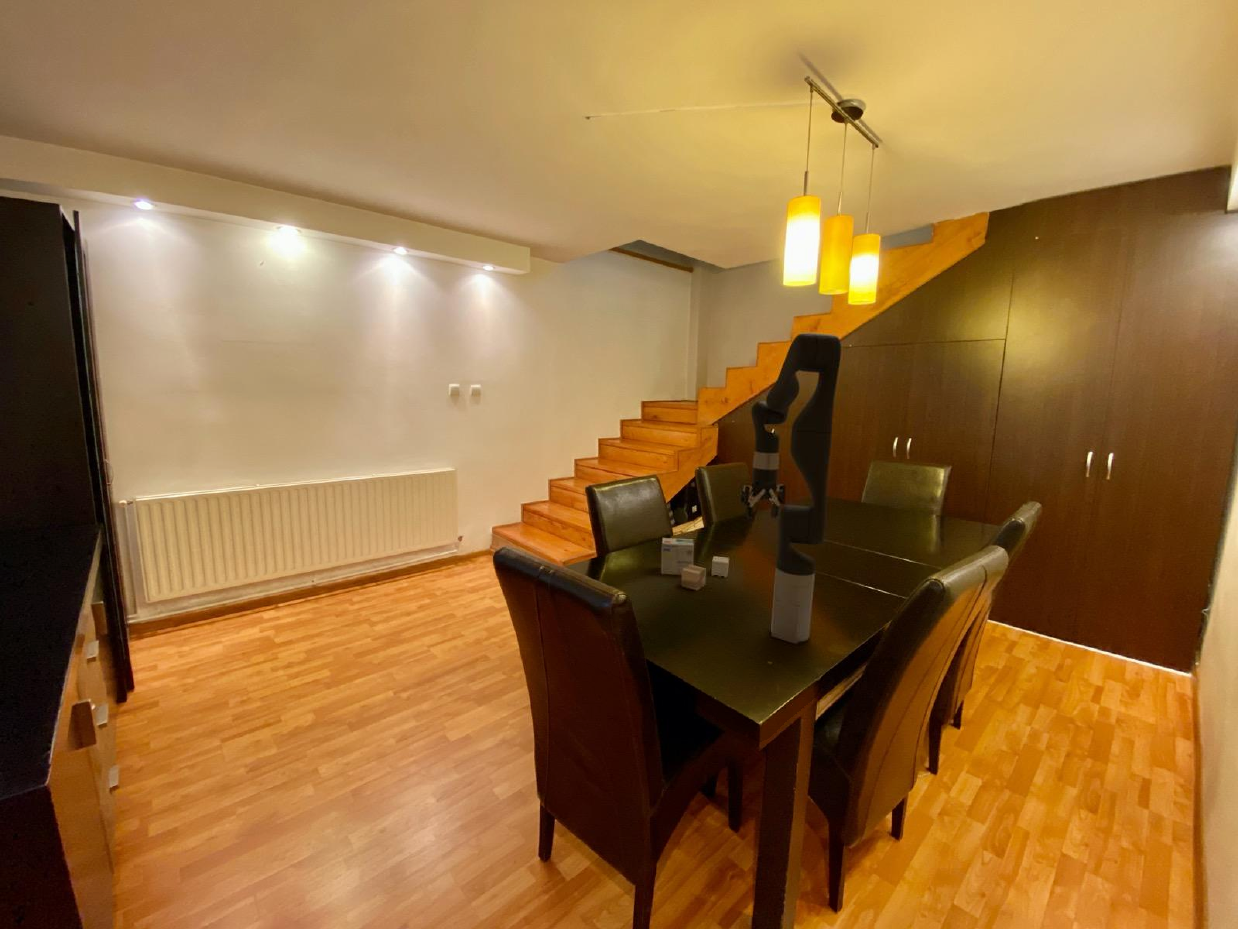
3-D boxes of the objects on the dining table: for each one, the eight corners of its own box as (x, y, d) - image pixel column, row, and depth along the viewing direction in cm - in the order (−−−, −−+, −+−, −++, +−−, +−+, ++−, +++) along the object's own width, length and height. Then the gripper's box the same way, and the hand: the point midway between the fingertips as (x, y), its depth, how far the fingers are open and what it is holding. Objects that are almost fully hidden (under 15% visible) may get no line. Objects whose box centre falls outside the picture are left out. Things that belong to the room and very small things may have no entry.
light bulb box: (692, 569, 170) (693, 538, 168) (693, 576, 163) (694, 544, 162) (660, 567, 171) (662, 537, 169) (660, 574, 164) (661, 543, 163)
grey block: (726, 577, 164) (727, 562, 163) (711, 575, 165) (712, 561, 164) (727, 572, 168) (728, 558, 167) (713, 570, 170) (713, 556, 169)
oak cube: (696, 590, 152) (697, 573, 151) (681, 586, 155) (682, 569, 154) (705, 585, 156) (706, 568, 156) (689, 581, 160) (690, 564, 159)
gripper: (751, 468, 147) (747, 522, 150) (792, 468, 151) (788, 520, 153) (738, 465, 154) (735, 515, 157) (778, 464, 158) (775, 514, 161)
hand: (761, 517), depth 155 cm, fingers open, 8 cm apart
